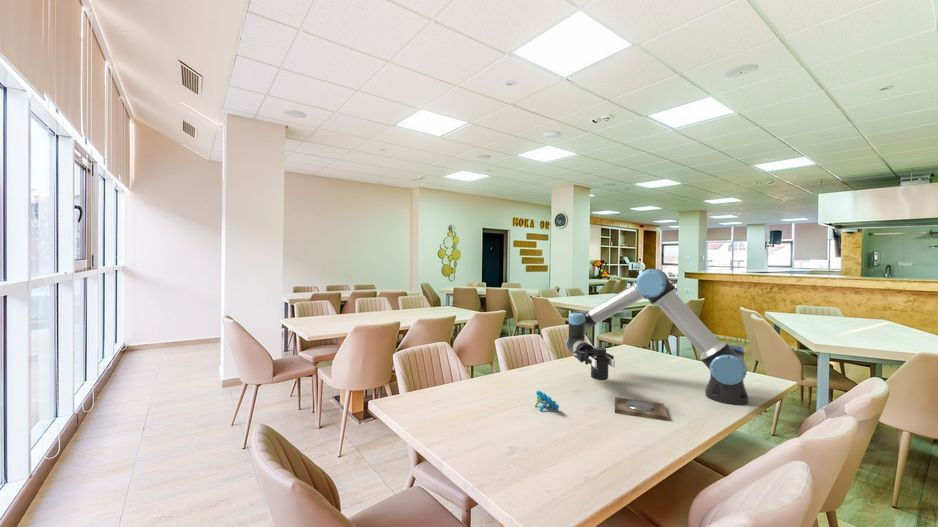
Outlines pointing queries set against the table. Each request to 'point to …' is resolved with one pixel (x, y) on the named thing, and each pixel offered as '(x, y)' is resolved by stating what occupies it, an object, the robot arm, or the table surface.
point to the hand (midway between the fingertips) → (604, 363)
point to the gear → (545, 401)
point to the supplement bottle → (600, 364)
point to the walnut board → (640, 408)
